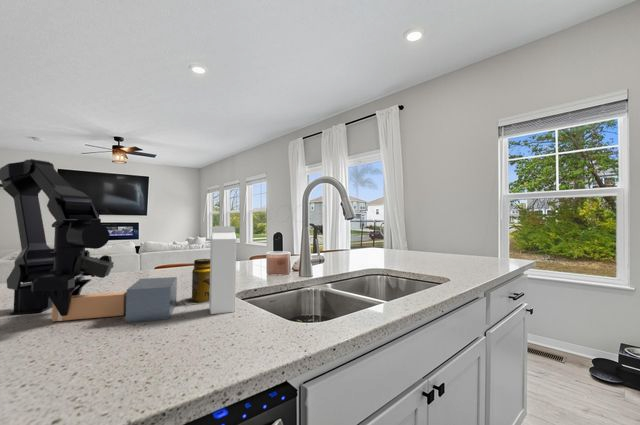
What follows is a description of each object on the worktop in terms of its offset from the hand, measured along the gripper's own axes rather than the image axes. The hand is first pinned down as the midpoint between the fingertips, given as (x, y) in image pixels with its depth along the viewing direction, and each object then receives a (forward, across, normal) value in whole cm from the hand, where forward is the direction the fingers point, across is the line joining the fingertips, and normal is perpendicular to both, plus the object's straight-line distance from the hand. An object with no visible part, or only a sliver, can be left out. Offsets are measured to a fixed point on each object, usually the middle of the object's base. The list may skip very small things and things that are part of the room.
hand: (67, 313), depth 71 cm
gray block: (+1, 0, -18) cm, 18 cm away
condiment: (+2, +9, -28) cm, 30 cm away
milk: (+2, -3, -34) cm, 35 cm away
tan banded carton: (+1, 0, -5) cm, 5 cm away
